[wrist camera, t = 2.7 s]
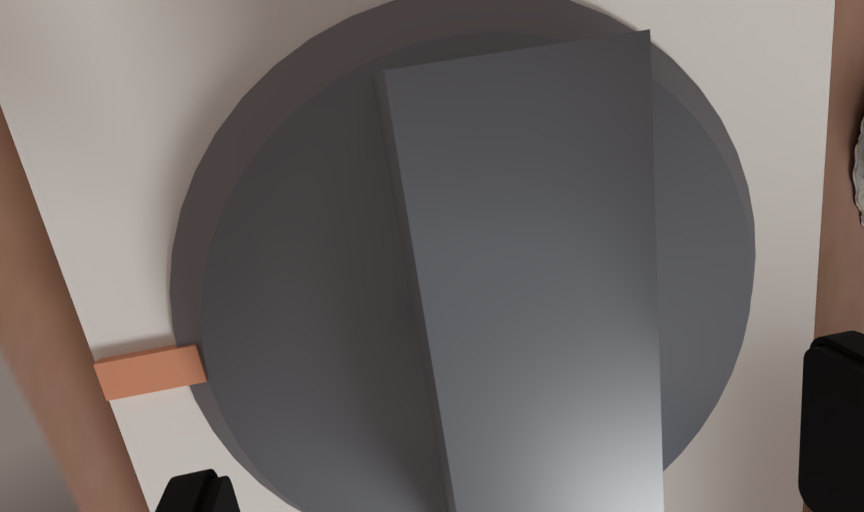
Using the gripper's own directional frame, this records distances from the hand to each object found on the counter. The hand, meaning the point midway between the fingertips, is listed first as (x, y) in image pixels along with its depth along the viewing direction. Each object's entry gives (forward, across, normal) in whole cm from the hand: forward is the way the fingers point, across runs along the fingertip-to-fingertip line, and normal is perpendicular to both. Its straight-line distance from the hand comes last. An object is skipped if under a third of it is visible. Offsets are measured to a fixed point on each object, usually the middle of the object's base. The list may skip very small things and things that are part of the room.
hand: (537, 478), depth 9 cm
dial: (+6, -1, 0) cm, 6 cm away
